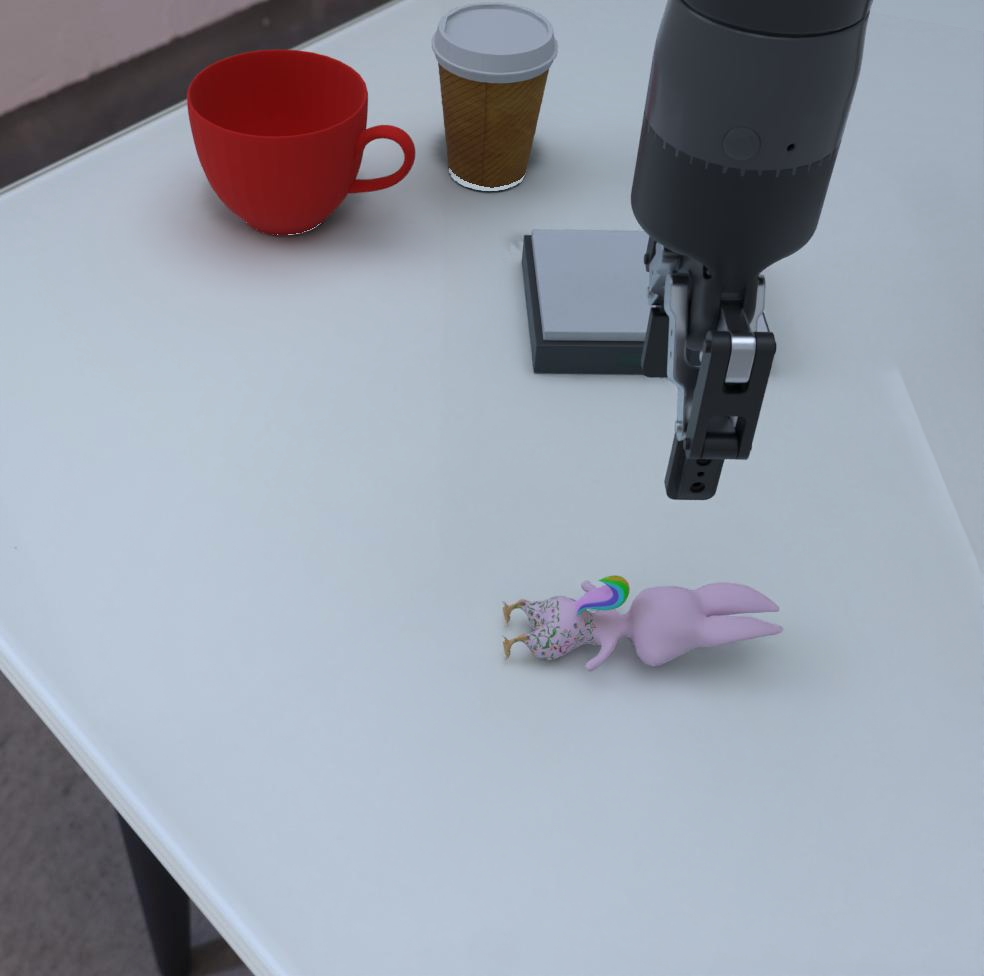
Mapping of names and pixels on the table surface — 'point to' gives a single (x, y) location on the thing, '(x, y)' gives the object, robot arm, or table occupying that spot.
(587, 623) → the rabbit figure
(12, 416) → the table surface
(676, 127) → the robot arm
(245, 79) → the ceramic cup
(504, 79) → the disposable coffee cup
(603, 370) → the scale
